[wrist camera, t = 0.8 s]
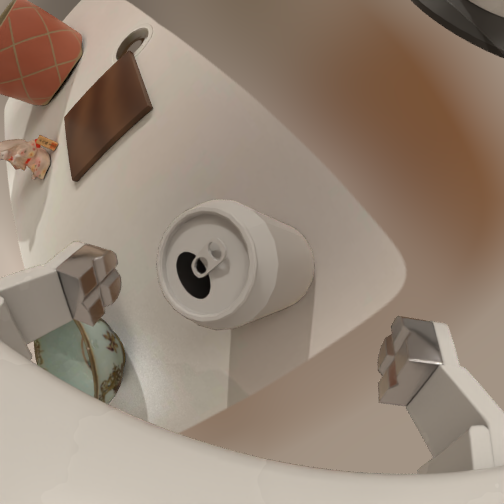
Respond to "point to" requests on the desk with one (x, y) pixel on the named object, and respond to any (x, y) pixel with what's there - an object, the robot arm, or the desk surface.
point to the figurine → (28, 154)
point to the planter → (35, 52)
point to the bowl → (84, 357)
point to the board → (105, 114)
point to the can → (232, 264)
